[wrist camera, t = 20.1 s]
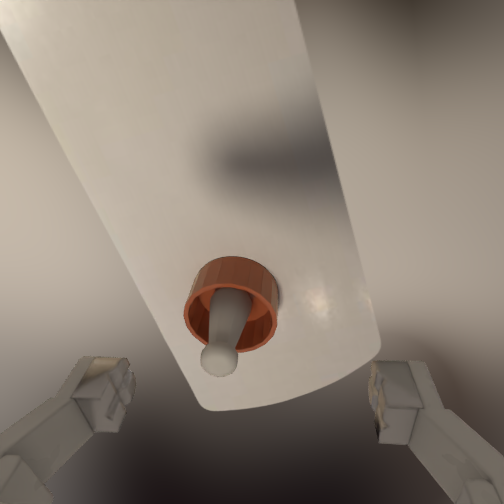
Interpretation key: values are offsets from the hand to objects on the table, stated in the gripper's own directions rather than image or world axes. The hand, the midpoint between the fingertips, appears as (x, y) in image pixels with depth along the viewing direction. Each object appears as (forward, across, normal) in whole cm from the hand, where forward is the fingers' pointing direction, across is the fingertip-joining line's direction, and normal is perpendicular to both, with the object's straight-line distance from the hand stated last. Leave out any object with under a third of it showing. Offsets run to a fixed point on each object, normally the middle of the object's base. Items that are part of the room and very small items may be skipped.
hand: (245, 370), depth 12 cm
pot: (+31, +7, +22) cm, 39 cm away
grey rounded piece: (+31, +7, +22) cm, 38 cm away
